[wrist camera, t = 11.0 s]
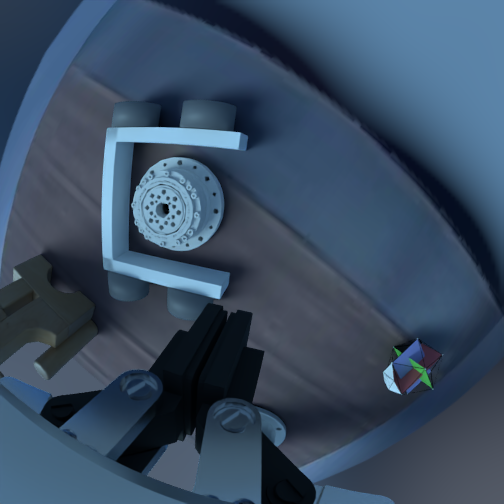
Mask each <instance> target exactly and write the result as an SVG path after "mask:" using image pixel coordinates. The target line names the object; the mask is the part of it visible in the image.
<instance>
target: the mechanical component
mask: <svg viewBox="0 0 504 504" xmlns="http://www.w3.org/2000/svg"><path fill="white" fill-rule="evenodd" d="M208 176H209V179H210V180H208ZM165 204H167V205H169V211H167V210H166V207H165ZM131 206H132V208H133V214H134V217H135V222H134V223H135V225H137V226H138V227H139V232H140V233H143V234H144V237H145V239H149V240H150V241H152V242H154V243H156V244H158V245H159V246H160V247H165V248H168V249H171V250H176V251H186V250H191V249H194V248H197V247H199V246H200V245H202V244H203V243H205V242H206V241H208V240H209V239H210V238H211V237H212V236H213V234H214V233H215V232H216V231H217V229H218V228H219V225H220V223H221V221H222V218H223V212H224V196H223V191H222V188H221V185H220V183H219V181H218V179H217V177H216V176H215V175H214V174H213V173H212V172H211V170H210V169H209V168H208V167H207V166H205V165H203V164H202V163H200V162H198V161H196V160H193V159H190V158H183V157H172V158H169V159H165V160H161V161H159V162H158V163H157V164H155V165H154V166H152V167H151V168H150V169H149V170H148V171H147V172H146V174H145V175H144V176H143V178H142V179H141V182H140V184H139V186H137V187H136V192H135V195H134V199H133V203H132V205H131ZM217 209H218V211H219V212H217V211H216V210H217ZM202 237H203V238H202Z"/></svg>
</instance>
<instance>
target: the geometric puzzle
mask: <svg viewBox="0 0 504 504" xmlns="http://www.w3.org/2000/svg"><path fill="white" fill-rule="evenodd" d="M419 341H420V339H418V338H417V339H416V340H415V341H414V342H413V343H412V344H411V345H410V346H409V345H405V346H409V347H408V348H407V349H406V350H405V351H404V352H403V353H401V352H400V351H398V350H397V349H396V348H394V346H393V348H394V350H395V352H396V354H397V356H398V358H397V359H395V360H394V361H393V362H392V363H391V364H390V365H389V364H388V365H389V366H388V367H387V368H386V370H385V371H384V372H383V375H384V381H385V383H386V385H387V387H388V389H389V390H390V391H393V392H396V393H398V394H401V395H403V393H404V392H405V391H407V394H409V392H411V391H412V390H413V389H414V388H415V387H416V386H417V385H418V384H419V383H420V382H421V381H423V382H424V383H426V384H427V385H428V386H430V387H431V388H432V390H433V383H432V384H431V381H430V379H429V376H428V374H429V373H430V372H431V371H432V370H433V369H432V370H430V367H431V366H432V365H433V364H434V363H435V362H436V361H437V360H438V359H439V358H441V357H442V356H443V354H440V353H439V352H437V351H436V350H433V348H432V349H431V348H430V346H429V345H428V346H429V347H428V346H426V345H427V344H426V343H425V344H426V345H424V344H423V343H422V342H423V341H422V342H421V341H420V342H421V343H420V342H419ZM409 342H410V341H409ZM406 343H407V342H406ZM420 344H421V345H420ZM397 347H401V346H397ZM392 351H393V350H392ZM391 355H392V354H391ZM390 358H391V357H390ZM392 360H393V357H392ZM439 360H440V359H439ZM439 360H438V361H439ZM389 362H390V361H389ZM436 364H437V363H436ZM392 365H393V367H392ZM434 367H435V366H434ZM434 367H433V368H434ZM393 368H395V369H394V371H393ZM438 370H439V369H438ZM437 374H438V373H437ZM436 377H437V376H436ZM431 380H432V375H431ZM434 384H435V383H434ZM429 390H431V389H429ZM424 391H426V390H424ZM419 392H420V391H419ZM414 393H415V392H414Z"/></svg>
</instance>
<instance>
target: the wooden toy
mask: <svg viewBox="0 0 504 504" xmlns="http://www.w3.org/2000/svg"><path fill="white" fill-rule="evenodd" d="M51 274H52V265H51V264H50V263H49V262H48V261H47V260H46V259H45V258H44V257H43V256H42V255H38V256H36V257H34V258H31V259H29V260H27V261H25V262H23V263H21V264H19V265H17V266H15V267H14V268H13V282H12V283H11V284H9V285H7V286H5V287H4V288H2V289H0V365H1V364H2V363H3V362H5V361H6V360H7V359H8V358H9V357H11V356H12V355H13V354H14V353H15V352H16V351H18V350H19V349H20V348H21V347H23V346H24V345H25V344H26V343H31V342H42V343H45V344H48V345H50V346H51V347H50V348H49V349H48V350H46V351H45V352H44V353H43V354H42V355H41V356H40V357H38V358H37V359H36V360H35V361H34V366H35V369H36V370H37V372H38V373H39V374H40V375H41V376H42V377H43V378H44V379H46V380H50V379H51V378H52V377H53V376H54V375H55V374H56V373H57V372H58V371H59V370H60V369H61V368H62V367H63V366H64V365H65V364H66V363H67V362H68V361H69V360H70V359H72V358H73V357H74V356H75V355H76V354H77V353H78V352H79V351H80V350H81V349H82V348H83V347H84V346H85V345H86V344H87V343H88V342H90V341H91V340H92V339H93V338H94V337H95V336H96V335H97V333H98V329H97V326H96V325H95V323H94V322H93V321H92V320H90V319H91V318H92V316H93V312H94V308H95V304H94V303H93V302H92V301H90V300H89V299H88V298H87V297H86V296H85V295H83V294H82V293H81V292H80V291H78V292H75V293H63V292H60V291H58V290H56V289H55V288H53V287H52V286H51V284H50V280H51ZM3 377H4V375H3V374H2V373H1V372H0V379H1V378H3Z"/></svg>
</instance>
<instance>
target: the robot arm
mask: <svg viewBox="0 0 504 504" xmlns="http://www.w3.org/2000/svg"><path fill="white" fill-rule="evenodd" d="M251 320H252V313H251V312H246V311H242V310H237V312H236V313H233V312H231V314H230V316H229V318H228V320H227V311H225V310H223V306H220V305H216V304H212V303H208V304H207V305H206V306H205V308H204V309H203V311H202V312H201V314H200V315H199V317H198V318H197V320H196V321H195V323H194V324H193V326H192V327H191V329H190V330H189V331H188V332H186V331H183V330H179V331H178V332H177V333H176V334H175V335H174V337H173V338H172V340H171V341H170V342H169V344H168V345H167V346H166V348H165V349H164V350H163V352H162V353H161V355H160V356H159V357H158V359H157V360H156V361H155V363H154V364H153V366H152V367H151V368H150V370H149V371H146V370H139V369H137V370H130V371H126V372H124V373H123V374H121V375H120V376H118V377H117V378H116V379H115V380H114V381H113V382H112V383H110V384H109V385H108V386H107V387H106V388H105V389H104V390H98V391H92V392H85V393H78V394H70V395H61V396H57V397H52V395H51V394H50V393H48V392H45V391H43V390H41V389H38V388H36V387H33V386H31V385H29V384H26V383H24V382H22V381H20V380H18V379H16V378H13V377H3V378H1V379H0V504H394V502H393V501H392V500H390V499H389V498H387V497H384V496H380V495H373V494H367V493H360V492H355V491H350V490H345V489H340V488H336V487H332V486H328V485H325V486H324V487H321V486H317V485H313V483H312V482H311V481H310V480H309V479H308V478H307V477H306V476H305V475H304V474H303V473H302V472H301V471H300V470H299V469H298V468H297V467H296V466H295V465H294V464H293V463H292V462H291V461H290V460H289V459H288V458H287V457H286V456H285V455H284V454H283V453H282V452H281V451H280V450H279V449H278V448H277V446H279V445H280V444H281V443H282V442H283V441H284V439H285V437H286V426H285V424H284V423H283V421H282V420H281V419H280V418H279V417H278V416H276V415H275V414H273V413H272V412H270V411H267V410H265V409H262V408H260V407H256V406H254V405H252V401H253V397H254V393H255V389H256V385H257V381H258V377H259V373H260V369H261V364H262V360H263V356H264V351H262V350H258V349H253V348H249V347H247V341H248V336H249V331H250V325H251ZM226 321H227V322H226ZM195 427H196V435H195V436H196V439H195V448H196V450H197V451H198V453H199V454H200V459H199V464H198V470H197V475H196V481H195V486H194V488H193V491H192V492H190V491H187V490H184V489H181V488H178V487H174V486H172V485H169V484H166V483H164V482H161V481H158V480H155V479H153V478H151V477H148V476H147V475H148V473H149V472H150V471H151V469H152V468H153V467H154V466H155V464H156V463H157V462H158V460H159V459H160V458H161V456H162V455H163V454H164V452H165V451H166V449H167V447H168V444H171V443H175V442H177V440H180V441H184V439H185V436H186V434H187V435H192V434H193V432H194V429H195Z"/></svg>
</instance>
